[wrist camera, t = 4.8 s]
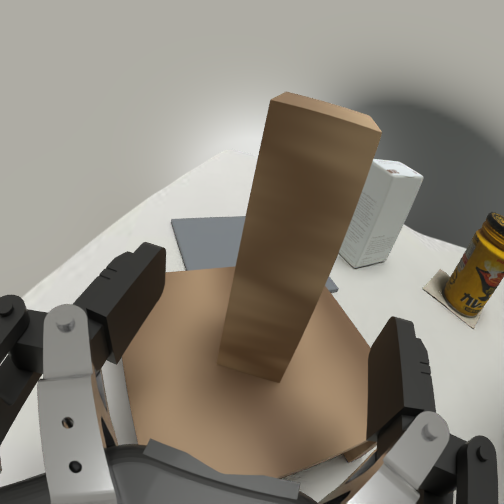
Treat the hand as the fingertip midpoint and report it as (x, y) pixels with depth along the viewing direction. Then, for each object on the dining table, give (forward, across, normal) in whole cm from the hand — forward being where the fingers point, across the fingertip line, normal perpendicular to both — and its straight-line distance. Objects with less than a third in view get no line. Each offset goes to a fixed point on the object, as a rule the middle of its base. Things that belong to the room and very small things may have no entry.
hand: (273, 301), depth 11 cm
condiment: (+24, -23, +13) cm, 35 cm away
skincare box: (+26, -9, +13) cm, 30 cm away
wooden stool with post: (+3, 0, +12) cm, 13 cm away
